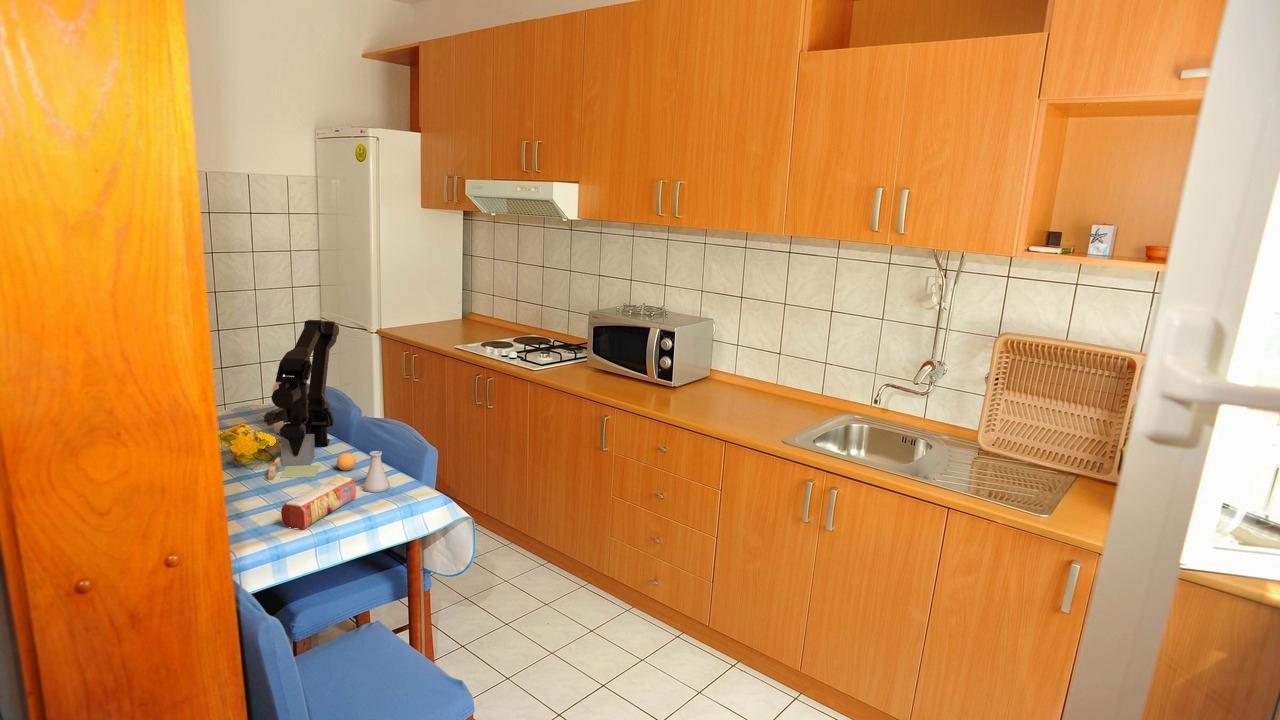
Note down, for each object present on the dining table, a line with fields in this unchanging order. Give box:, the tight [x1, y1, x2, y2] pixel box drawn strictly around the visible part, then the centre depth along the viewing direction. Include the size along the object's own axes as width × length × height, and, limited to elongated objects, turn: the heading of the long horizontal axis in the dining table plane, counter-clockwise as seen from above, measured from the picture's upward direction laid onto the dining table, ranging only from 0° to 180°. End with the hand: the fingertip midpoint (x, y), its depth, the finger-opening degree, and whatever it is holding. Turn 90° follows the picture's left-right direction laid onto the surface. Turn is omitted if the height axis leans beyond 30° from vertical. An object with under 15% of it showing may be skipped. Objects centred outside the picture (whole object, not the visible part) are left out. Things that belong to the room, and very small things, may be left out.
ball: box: [336, 452, 357, 472], centre depth 208 cm, size 5×5×5 cm
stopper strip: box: [268, 456, 282, 481], centre depth 203 cm, size 12×1×2 cm, turn 16°
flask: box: [361, 450, 391, 493], centre depth 196 cm, size 7×7×10 cm
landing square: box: [279, 464, 321, 479], centre depth 205 cm, size 9×9×1 cm
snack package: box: [280, 476, 357, 530], centre depth 179 cm, size 21×7×7 cm, turn 167°
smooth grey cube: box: [280, 434, 316, 467], centre depth 212 cm, size 8×8×7 cm
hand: (298, 451), depth 212 cm, fingers closed on smooth grey cube, 8 cm apart
